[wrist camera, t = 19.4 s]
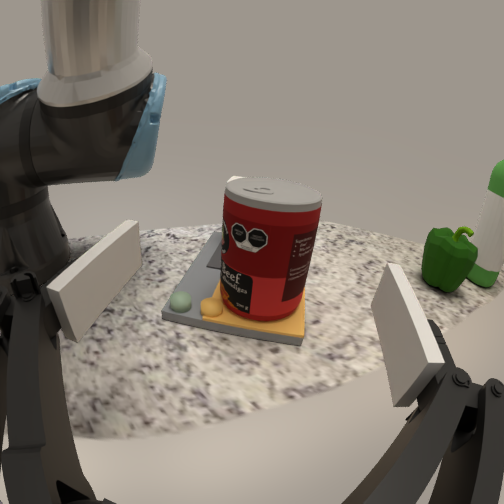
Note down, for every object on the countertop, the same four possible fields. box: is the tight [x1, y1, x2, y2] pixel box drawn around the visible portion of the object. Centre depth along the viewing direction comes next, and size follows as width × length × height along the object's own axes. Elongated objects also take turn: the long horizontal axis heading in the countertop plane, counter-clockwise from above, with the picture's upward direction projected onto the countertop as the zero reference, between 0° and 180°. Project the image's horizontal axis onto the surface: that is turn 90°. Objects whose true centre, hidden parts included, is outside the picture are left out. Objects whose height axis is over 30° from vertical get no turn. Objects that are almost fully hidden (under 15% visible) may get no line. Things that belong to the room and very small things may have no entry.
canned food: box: [220, 177, 322, 321], centre depth 25 cm, size 8×8×11 cm
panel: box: [161, 231, 305, 346], centre depth 32 cm, size 13×18×2 cm
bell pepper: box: [421, 227, 478, 292], centre depth 34 cm, size 8×8×10 cm
